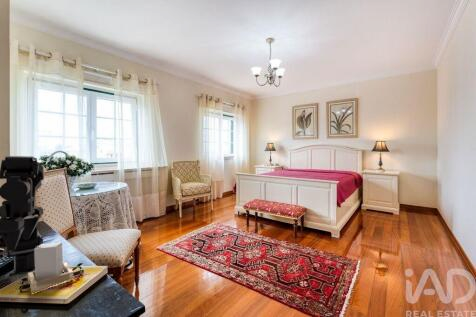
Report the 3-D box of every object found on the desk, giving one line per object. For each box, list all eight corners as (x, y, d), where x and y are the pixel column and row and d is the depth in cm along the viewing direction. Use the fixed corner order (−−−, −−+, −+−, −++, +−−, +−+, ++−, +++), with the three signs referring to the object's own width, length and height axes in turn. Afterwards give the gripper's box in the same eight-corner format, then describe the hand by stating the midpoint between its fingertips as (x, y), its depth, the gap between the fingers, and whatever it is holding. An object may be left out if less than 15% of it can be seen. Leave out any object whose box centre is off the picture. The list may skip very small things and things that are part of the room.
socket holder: (27, 281, 72) (27, 272, 72) (66, 270, 79) (66, 261, 79) (32, 294, 65) (32, 284, 65) (73, 280, 73) (73, 271, 73)
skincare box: (63, 276, 75) (63, 241, 75) (56, 283, 71) (56, 246, 71) (42, 278, 74) (42, 242, 73) (33, 286, 69) (33, 248, 69)
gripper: (2, 192, 74) (2, 238, 75) (-39, 203, 57) (-39, 262, 58) (44, 190, 79) (43, 234, 79) (17, 200, 62) (17, 255, 62)
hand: (19, 244), depth 69 cm, fingers open, 9 cm apart
